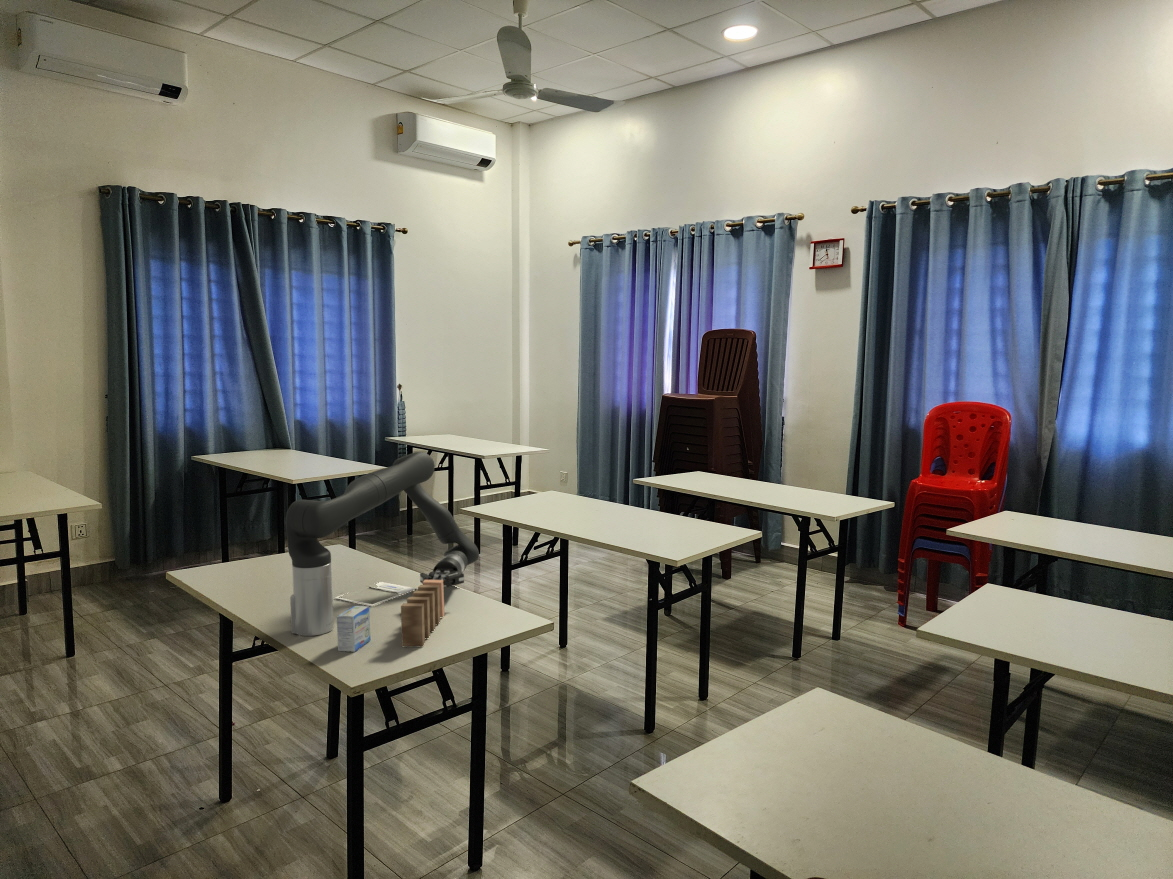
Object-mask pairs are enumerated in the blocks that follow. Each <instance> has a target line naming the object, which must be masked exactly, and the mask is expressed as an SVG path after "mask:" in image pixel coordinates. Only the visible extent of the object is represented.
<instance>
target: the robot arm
mask: <svg viewBox="0 0 1173 879" xmlns="http://www.w3.org/2000/svg"><path fill="white" fill-rule="evenodd" d="M435 466H436V465H435V461H434V460H433V458H432V457H431V455H429V454H428V453H426V452H424V451H423V452H422V451H415V452H413V453H409V454H406V455H403V456H401V457H399V458H396V459H395V460H394V462H393V463H392V465H391V466H387V467H384V468H381V469H377V470H375V471H372V472H369V473H366V474H364V475H362V476H360V477H358V478H355V479H354V480H352V481H351V482H349V484H348V485H347V486H346V488H345V491H344V493H342V494H341V495H339V496H337V497H335V498H331V499H329V500H313V499H312V500H311V499H298V500H295V501H294V502H292V503H291V504H290V505H289V507H288V508H287V512H286V515H285V532H286V539H287V540H286V541H287V542H286V543H287V551H288V554H289V557H290V559H291V568H292V587H293V588H292V589H293V590H292V591H293V594H291V596H290V598H289V602H290V621H291V622H290V623H291V624H290V626H291V629H290V630H291V634H296V635H299V636H303V637H304V636H305V637H311V636H312V637H313V636H318V635H319V636H320V635H323V634H327V633H329V632H330V631H332V630H333V629H334V605H333V604H334V603H333V577H332V576H333V575H332V574H333V573H332V554H331V551H330V550H329V549H328V548H326V547H325V546H324V545H322V544H321V542H320V541H319V539H323V538H325V537H328V536H330V535H332V534H333V533H334V532H336V531H337V530H339V529H340V528H341V527H343V526H344V525H345V524H347V523H348V522H350V521H352V520H354V519H356V518H357V517H359V516H361V515H363V514H365V513H367V512H369V511H371V510H373V509H375V508H376V507H379V506H380V505H382V504H384V503H386V502H387V501H389V500H390V499H392V498H394V497H396V496H397V495H398V494H400V493H402V492H403V491H404V493H405V494H406V495H407V496H408V498H409V499H410V500H411V501H412V503H414V505H415V506H416V507H417V508H418V510H419V511H420V512H421V513H422V515H423V516H424V518H425V519H426V521H427V522H428V523H429V525H430V527H431V528H432V531H433V532H434V533H435V535H436V537H437V539H438V540H439V542H440V543H441V544H443V545H448V544H453V543H454V544H457V545H455V546H452V547H450V548H448V549H447V550H445V551H444V554H443V557H442V558H441V559H440V560H439V561H438V562H437V563H436V564H435V565H434V567H433V569H432V571H430V572H428V573H424V572H421V573H419V580H420V584H421V585H423V581H424V580H443V588H444V587H445V588H446V587H447V588H451V587H453V586H457V585H461V584H465V573H464V572H465V570H466V569H467V566H469V565H472V564H474V563H475V562H477V561H478V559H479V557H480V552H479V549H478V547H477V545H476V543H474V542H473V541H472V540H471V539H470V538H469V537H468V536H467V535H466V534H465V533H464V532H463V531H462V530H461V529H460V527H459V525H458V524H457V522H456V520H455V518H454V516H453V515H452V513H451V512H450V511H449V509H448V508H447V507H445V505H443V504H442V503H441V502H439V501H437V500H436V499H435V498H434V497H432V496H431V495H430V494H429V493H428V492H427V490H425V489H424V487H423V486H422V485H421V484H423V483H425V482H427V481H428V480H430V479H431V478H432V476H433V474H434V472H435V469H436V468H435Z"/></svg>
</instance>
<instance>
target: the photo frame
mask: <svg viewBox="0 0 1173 879" xmlns="http://www.w3.org/2000/svg"><path fill="white" fill-rule="evenodd" d="M378 582H379V583H378ZM378 582H376V583H377V584H376V585H377V586H378V587H377V588H379V589H383V590H387V591H393V592H397V593H401V594H395V595H393V596H391V597H388V598H386V599H385V598H384V599H383V600H380V601H377V602H375V603H373V604H371V603H368V602H362V601H357V600H353V599H349V598H345V597H342V598H341V597H340V596H343V595H344V594H341V595H338V596H335V597H334V599H335V598H338V599H342V600H346V601H352V602H357V603H361V604H365V605H369V606H374V605H377V604H379V603H382V602H384V603H386V602H385V601H387V602H389V601H388V600H390V599H392V598H394V597H397V596H399V595H402V594H405V593H407V592H410V591H413V590H415V589H417V588H416V587H410V586H406V585H399V584H395V583H389V582H385V581H384V582H383V581H378ZM374 588H375V587H374ZM413 592H414V591H413ZM346 593H347V594H348V593H349V592H346ZM405 595H406V594H405ZM339 597H340V598H339ZM397 598H398V597H397ZM392 600H393V599H392ZM390 601H391V600H390ZM382 604H383V603H382ZM379 605H380V604H379ZM369 606H368V607H369ZM377 606H378V605H377ZM374 607H375V606H374Z"/></svg>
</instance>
